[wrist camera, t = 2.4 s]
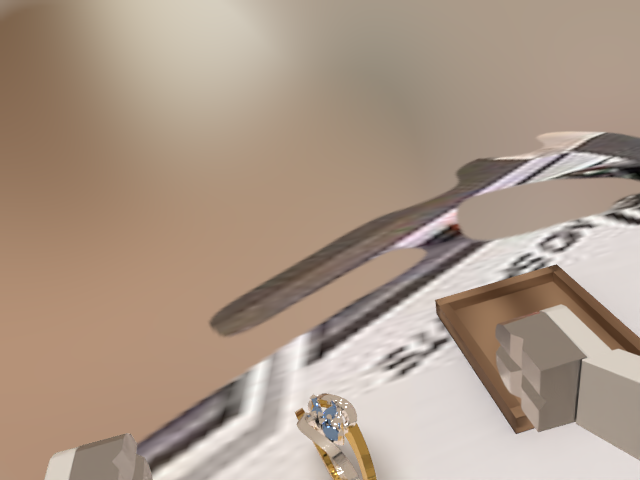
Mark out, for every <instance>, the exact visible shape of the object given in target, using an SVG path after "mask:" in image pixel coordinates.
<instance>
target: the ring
mask: <svg viewBox="0 0 640 480" xmlns="http://www.w3.org/2000/svg"><path fill="white" fill-rule="evenodd" d="M321 407H326V408H327V409H326V410H325V411H324V412H323V411H322V408H321ZM308 410H309V413H305V411H304V410H303V408H301V409H299V410H297V411H296V412H295V414H296V416H297V418H298V420H299V421H298V422H297V426H298V428H299V430H300V431H301V432H302V433H303V434H305V435H306V436H307V437H308V438H310V439H311V440H312V442H313V444H314V445H315V447H316V449H317V451H318V453H319V455H320V457H321V459H322V461H323V462H324V464H325V466H326V468H327V470H328V472H329V474H330V476H331V477H332V479H333V480H360V478H359V476H358V474H357V473H356V471H355V469H354V467H353V466H352V464H351V463H350V461H349V460H348V459H347V457H346V456H345V455H344V454H343V453H342V452H341V450H340V449H339V448H338V447H337V446H336V445H335V444H338V445H344V434H345V436H346V438H347V440H348V441H349V443H350V445H351V447H352V449H353V451H354V453H355V455H356V458H357V460H358V463H359V466H360V469H361V472H362V476H363V480H377V479H376V474H375V470H374V466H373V463H372V460H371V456H370V454H369V451H368V448H367V445H366V443H365V440H364V438H363V436H362V434H361V431H360V429H359V427H358V425H357V423H356V421H357V414H356V411H355V409H354V407H353V406H352V404H351V403H350V402H348V401H347V400H346V399H344V398H342V397H339V396H336V395H331V394H320V395H318V396H315V395H312V396H311V397H310V401H309V403H308ZM342 415H343V416H344V417H345V419H346V422H345V423H344V424H343V419H342Z"/></svg>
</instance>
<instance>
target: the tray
mask: <svg viewBox="0 0 640 480" xmlns="http://www.w3.org/2000/svg"><path fill="white" fill-rule="evenodd" d="M435 301H436V311H437V315H438V316H439V318H440V319H441V321H442V322H443V324H444V325H445V327H446V328H447V330H448V331H449V333H450V335H451V336H452V338H453V339H454V341H455V342H456V344H457V345H458V347H459V348H460V350H461V351H462V353H463V354H464V356H465V357H466V359H467V360H468V362H469V363H470V365H471V366H472V368H473V369H474V371H475V372H476V374H477V375H478V377H479V378H480V380H481V381H482V383H483V384H484V386H485V388H486V389H487V391H488V392H489V394H490V395H491V397H492V398H493V400H494V401H495V403H496V404H497V406H498V407H499V409H500V410H501V412H502V413H503V415H504V416H505V418H506V419H507V421H508V422H509V424H510V425H511V427H512V428H513V430H514V431H515V433H516V434H517V433H520V432H523V431H526V430H529V429H532V428H535V427H534V426H533V424H532V423H531V422H530V420H529V419H528V417H527V416H526V415H525V413H524V412H523V410H522V409H521V398H520V397H517V396H515V395H513V394H511V393H510V392H509V390H508V389H507V388H506V386H505V385H504V383H503V381H502V379H501V377H500V374H499V371H498V367H497V364H496V351H497V350H498V348H499V347H500V345H501V344H500V343H499V342H498V340H497V339H496V338H495V329H496V326H497V324H498V323H502V322H505V321H508V320H511V319H515V318H518V317H521V316H524V315H528V314H531V313H534V312H539V311H541V310H544V309H547V308H551V307H554V306H557V305H560V304H561V305H564V306H566V307H567V308H568V309H569V310H570V311H571V312H573V313H574V314H575V315H576V316H577V317H578V318H579V319H580V320H581V321H582V322H583V323H584V324H585V325H586V326H587V327H588V328H589V329H590V330H591V331H592V332H593V333H594V334H595V335H597V336H598V337H599V338H600V339H601V340H602V341H603V342H604V343H605V344H606V345H607V346H608V347H609V348H610V349H611V350H616V349H621V350H624V351H627V352H629V353H632V354H635V355H638V356H640V338H639V337H638V336H637V335H636V334H635V333H633V332H632V331H631V330H630V329H629V328H628V327H627V326H626V325H624V324H623V323H622V322H621V321H620V320H619V319H618V318H616V317H615V316H614V315H613V314H612V313H611V312H610V311H609V310H607V309H606V308H605V307H604V306H603V305H602V304H601V303H600V302H598V301H597V300H596V299H595V298H594V297H593V296H592V295H590V294H589V293H588V292H587V291H586V290H585V289H584V288H583V287H581V286H580V285H579V284H578V283H577V282H576V281H575V280H574V279H572V278H571V277H570V276H569V275H568V274H567V273H566V272H564V271H563V270H562V269H561V268H560V267H559V266H558V265H557V264H556V265H553V266H550V267H546V268H543V269H539V270H536V271H532V272H529V273H526V274H522V275H519V276H515V277H512V278H509V279H505V280H502V281H498V282H495V283H492V284H488V285H485V286H481V287H478V288H475V289H471V290H468V291H464V292H461V293H458V294H454V295H451V296H447V297H444V298H441V299H437V300H435Z"/></svg>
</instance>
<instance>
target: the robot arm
mask: <svg viewBox="0 0 640 480" xmlns="http://www.w3.org/2000/svg"><path fill="white" fill-rule="evenodd" d="M495 338H496V339H497V340H498V342H499V343H500V344H501V345H500V347H499V348H498V350H497V351H496V364H497V367H498V371H499V374H500V377H501V379H502V381H503V383H504V385H505V386H506V388H507V389H508V390H509V392H510V393H511V394H513V395H515V396H517V397H520V398H521V409H522V410H523V412H524V413H525V415H526V416H527V417H528V419H529V420H530V422H531V423H532V424H533V426H534V427H535V429H536V430H537V431H538V432H541V431H544V430H548V429H551V428H555V427H559V426H562V425H566V424H569V423H573V422H576V424H577V425H579V426H581V427H583V428H584V429H586V430H588V431H590V432H591V433H593V434H595V435H597V436H598V437H600V438H602V439H603V440H605V441H607V442H609V443H610V444H612V445H614V446H616V447H617V448H619V449H621V450H623V451H624V452H626V453H628V454H629V455H631V456H633V457H635V458H636V459H638V460H640V356H638V355H635V354H632V353H629V352H627V351H624V350H621V349H616V350H611V349H610V348H609V347H608V346H607V345H606V344H605V343H604V342H603V341H602V340H601V339H600V338H599V337H598V336H597V335H595V334H594V333H593V332H592V331H591V330H590V329H589V328H588V327H587V326H586V325H585V324H584V323H583V322H582V321H581V320H580V319H579V318H578V317H577V316H576V315H575V314H574V313H573V312H571V311H570V310H569V309H568V308H567V307H566V306H564V305H561V304H560V305H557V306H554V307H551V308H547V309H544V310H541V311H539V312H534V313H531V314H528V315H524V316H521V317H518V318H515V319H511V320H508V321H505V322H502V323H498V324H497V326H496V329H495ZM136 450H137V443H136V442H135V440H134V438H133V437H132V435H131V434H123V435H119V436H115V437H112V438H108V439H104V440H100V441H97V442H93V443H89V444H86V445H82V446H79V447H76V448H73V449H69V450H65V451H62V452H58V453H55V454H54V455H53V457H52V458H51V459H50V461H49V465H48V468H47V472H46V476H45V479H44V480H153V479H152V474H151V471H150V468H149V465H148V463H147V461H146V459H145V458H144V457H142V456H139V455H137V454H136Z"/></svg>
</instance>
